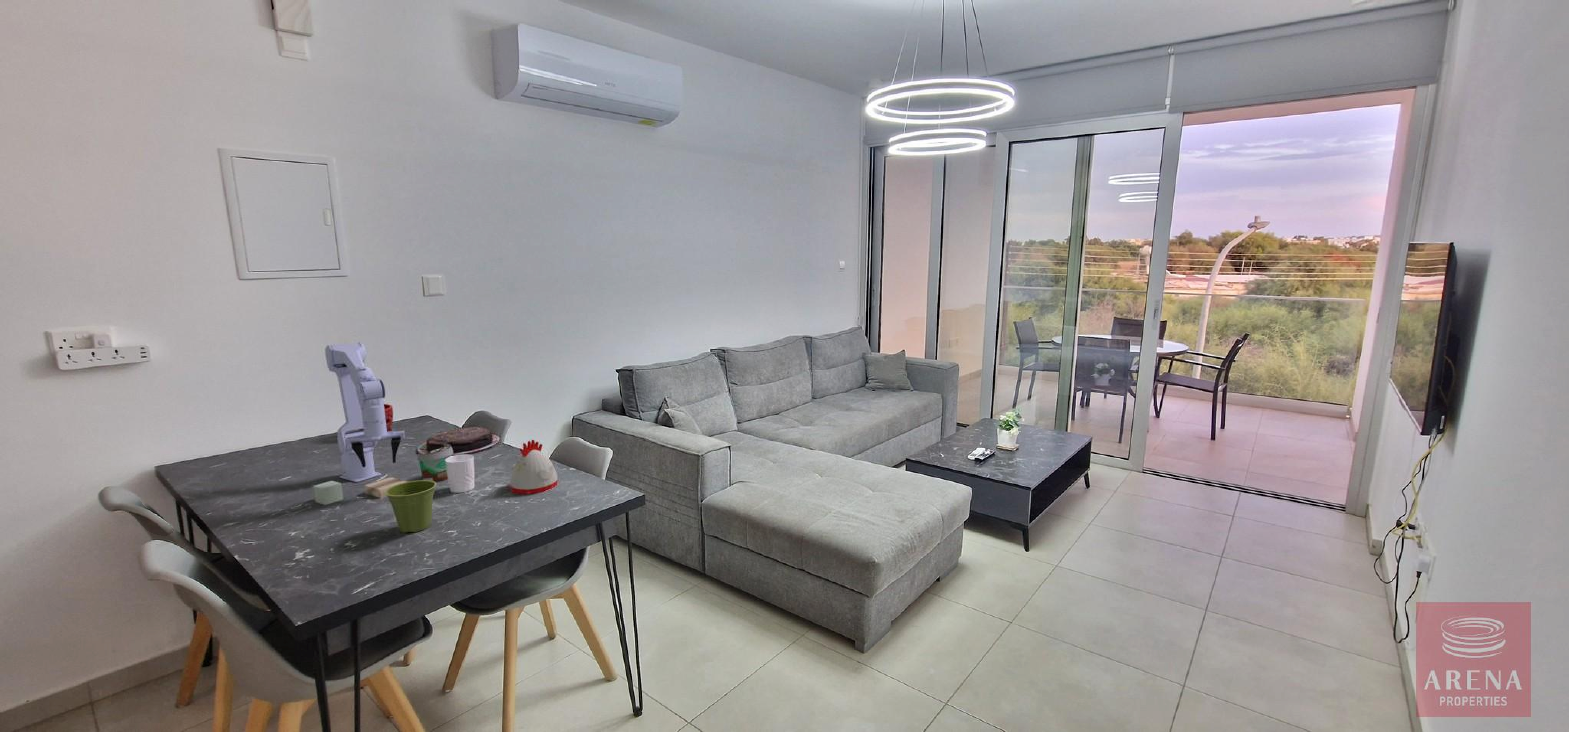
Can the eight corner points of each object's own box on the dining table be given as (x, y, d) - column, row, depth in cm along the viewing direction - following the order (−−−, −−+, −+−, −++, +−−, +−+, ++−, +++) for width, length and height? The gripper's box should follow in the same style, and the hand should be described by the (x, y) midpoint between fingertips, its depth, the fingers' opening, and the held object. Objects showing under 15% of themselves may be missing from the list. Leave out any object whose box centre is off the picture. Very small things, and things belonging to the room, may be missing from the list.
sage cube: (315, 501, 184) (313, 485, 183) (333, 496, 189) (331, 480, 188) (325, 505, 182) (322, 488, 181) (343, 499, 186) (341, 483, 185)
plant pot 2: (450, 520, 171) (446, 481, 169) (416, 539, 160) (411, 497, 158) (414, 516, 174) (410, 477, 172) (378, 534, 162) (373, 493, 160)
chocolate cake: (409, 446, 239) (407, 429, 238) (486, 432, 257) (484, 416, 256) (428, 464, 218) (426, 446, 217) (510, 447, 237) (509, 430, 236)
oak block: (365, 494, 191) (364, 485, 190) (392, 486, 198) (390, 477, 197) (381, 499, 187) (380, 489, 186) (407, 490, 194) (406, 481, 193)
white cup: (482, 486, 196) (479, 456, 194) (460, 495, 189) (456, 463, 187) (464, 482, 199) (461, 452, 198) (442, 491, 192) (439, 460, 191)
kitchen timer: (500, 489, 193) (496, 443, 191) (535, 475, 206) (532, 432, 203) (533, 497, 188) (529, 449, 185) (567, 482, 200) (564, 437, 197)
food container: (436, 486, 197) (433, 455, 195) (419, 484, 198) (416, 454, 196) (464, 472, 208) (461, 444, 207) (447, 471, 210) (445, 443, 208)
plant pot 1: (348, 440, 245) (344, 410, 243) (375, 430, 258) (371, 402, 256) (377, 441, 243) (374, 411, 241) (403, 432, 256) (400, 404, 254)
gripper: (343, 427, 178) (349, 472, 181) (402, 420, 186) (407, 463, 188) (345, 421, 184) (351, 465, 187) (402, 415, 192) (407, 457, 194)
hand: (379, 464), depth 188 cm, fingers open, 7 cm apart
